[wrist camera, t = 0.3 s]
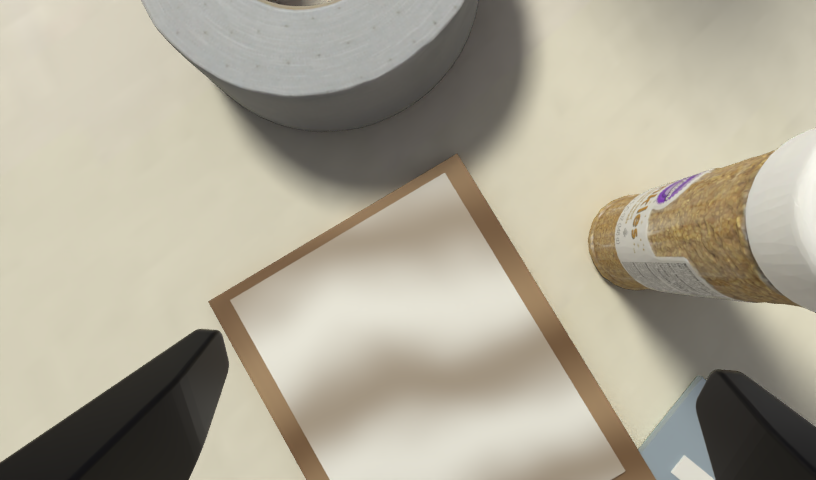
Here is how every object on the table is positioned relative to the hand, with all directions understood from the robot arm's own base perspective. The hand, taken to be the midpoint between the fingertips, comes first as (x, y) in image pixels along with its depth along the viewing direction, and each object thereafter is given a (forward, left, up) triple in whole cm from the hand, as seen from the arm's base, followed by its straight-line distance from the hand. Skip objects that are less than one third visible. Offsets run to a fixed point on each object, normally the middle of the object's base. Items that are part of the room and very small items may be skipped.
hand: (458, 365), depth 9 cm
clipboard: (-3, +3, -14) cm, 15 cm away
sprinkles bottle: (-2, -9, -14) cm, 17 cm away
